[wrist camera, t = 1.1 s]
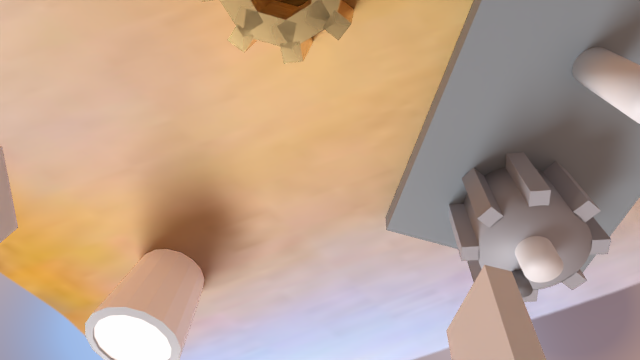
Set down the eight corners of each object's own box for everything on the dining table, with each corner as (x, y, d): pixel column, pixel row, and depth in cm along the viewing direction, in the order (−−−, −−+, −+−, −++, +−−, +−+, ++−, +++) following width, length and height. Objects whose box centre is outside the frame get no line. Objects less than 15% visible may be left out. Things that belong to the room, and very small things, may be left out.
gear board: (497, -58, 22) (551, -56, 16) (748, 16, 23) (900, 49, 16) (385, 217, 31) (390, 291, 25) (568, 266, 32) (619, 351, 25)
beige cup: (214, 309, 38) (185, 381, 32) (137, 300, 38) (94, 369, 32) (208, 247, 34) (174, 314, 28) (124, 238, 35) (73, 302, 29)
